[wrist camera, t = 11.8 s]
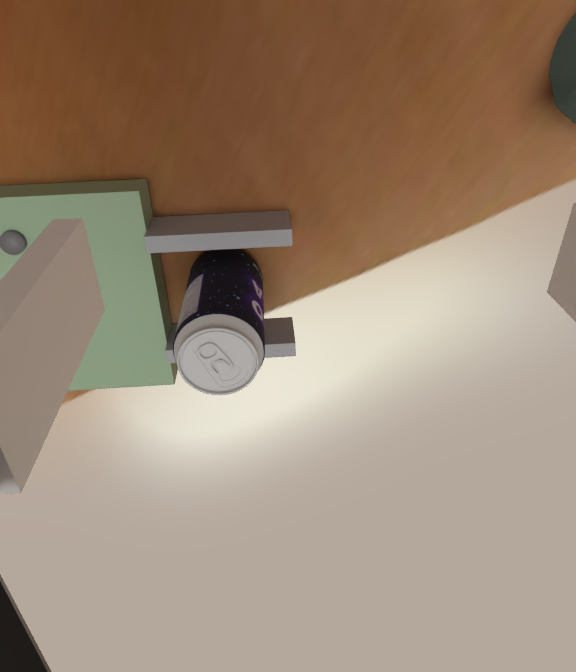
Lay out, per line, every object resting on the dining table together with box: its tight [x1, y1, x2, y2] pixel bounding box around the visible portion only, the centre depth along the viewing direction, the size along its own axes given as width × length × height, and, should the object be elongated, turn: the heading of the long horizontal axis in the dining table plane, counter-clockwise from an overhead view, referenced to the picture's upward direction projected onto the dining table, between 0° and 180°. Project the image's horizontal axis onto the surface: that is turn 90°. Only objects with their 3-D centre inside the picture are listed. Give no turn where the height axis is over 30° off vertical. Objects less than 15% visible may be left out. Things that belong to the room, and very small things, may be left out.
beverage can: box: [173, 249, 265, 395], centre depth 36 cm, size 6×6×12 cm
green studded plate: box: [0, 179, 296, 391], centre depth 40 cm, size 16×22×4 cm
